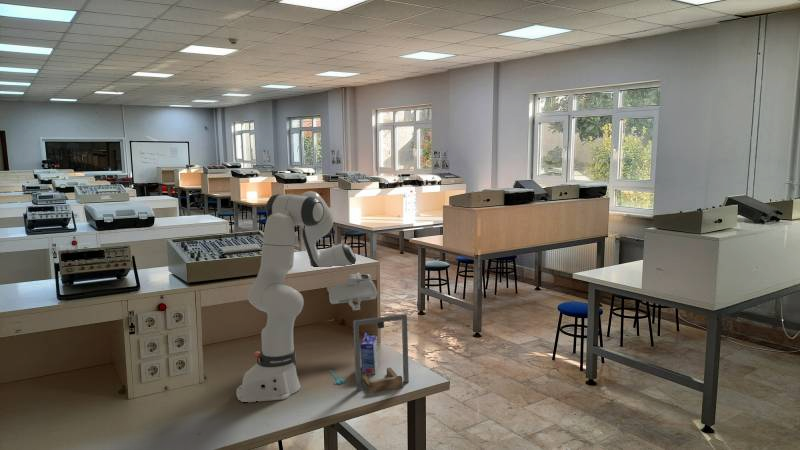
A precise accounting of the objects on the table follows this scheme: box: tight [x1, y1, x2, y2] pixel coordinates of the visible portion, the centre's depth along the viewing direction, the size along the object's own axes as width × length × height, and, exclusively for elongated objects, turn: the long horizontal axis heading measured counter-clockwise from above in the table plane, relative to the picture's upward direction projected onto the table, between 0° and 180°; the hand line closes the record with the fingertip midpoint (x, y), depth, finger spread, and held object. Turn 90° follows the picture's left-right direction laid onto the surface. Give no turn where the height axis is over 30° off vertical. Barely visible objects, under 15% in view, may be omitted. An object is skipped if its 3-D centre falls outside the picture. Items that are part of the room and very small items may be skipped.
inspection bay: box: [361, 367, 403, 395], centre depth 202 cm, size 12×14×4 cm
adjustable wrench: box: [328, 369, 347, 386], centre depth 209 cm, size 14×1×5 cm
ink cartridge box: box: [359, 332, 380, 375], centre depth 215 cm, size 10×6×14 cm, turn 174°
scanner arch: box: [352, 313, 410, 392], centre depth 199 cm, size 20×2×26 cm, turn 109°
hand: (356, 309), depth 229 cm, fingers closed
